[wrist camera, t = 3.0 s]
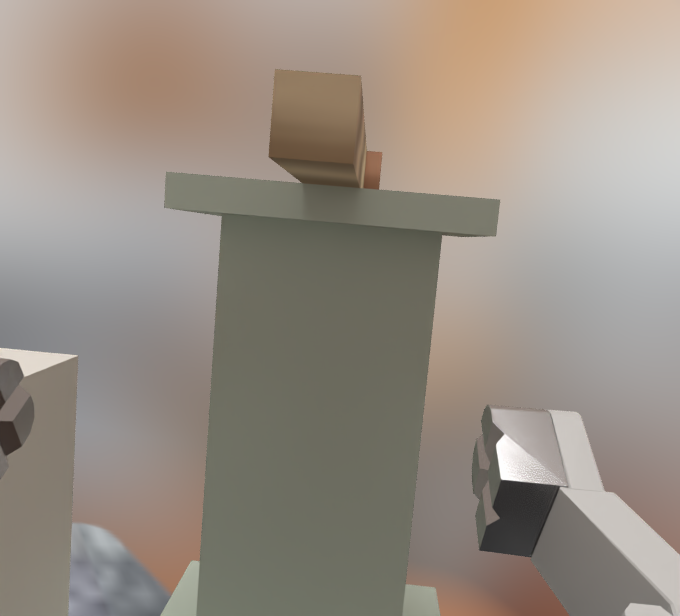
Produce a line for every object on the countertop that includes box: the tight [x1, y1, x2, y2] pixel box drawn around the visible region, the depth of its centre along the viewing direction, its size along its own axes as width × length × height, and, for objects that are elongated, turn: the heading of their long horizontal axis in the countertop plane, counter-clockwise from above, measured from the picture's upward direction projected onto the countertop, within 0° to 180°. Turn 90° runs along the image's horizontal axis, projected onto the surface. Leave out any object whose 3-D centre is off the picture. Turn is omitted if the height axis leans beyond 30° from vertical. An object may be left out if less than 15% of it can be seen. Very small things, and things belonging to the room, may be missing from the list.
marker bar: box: [269, 69, 382, 190], centre depth 27 cm, size 20×4×2 cm, turn 177°
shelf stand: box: [160, 172, 500, 616], centre depth 33 cm, size 14×16×26 cm
